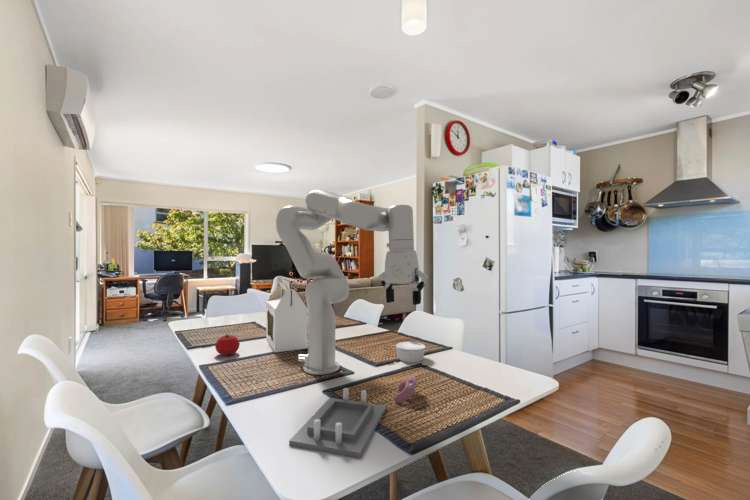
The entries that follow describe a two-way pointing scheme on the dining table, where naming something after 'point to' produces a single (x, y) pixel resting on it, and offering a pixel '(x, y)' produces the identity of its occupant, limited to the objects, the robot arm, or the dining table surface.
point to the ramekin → (410, 351)
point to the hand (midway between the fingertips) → (403, 303)
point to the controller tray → (340, 426)
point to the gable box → (286, 319)
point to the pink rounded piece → (406, 389)
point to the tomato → (227, 345)
